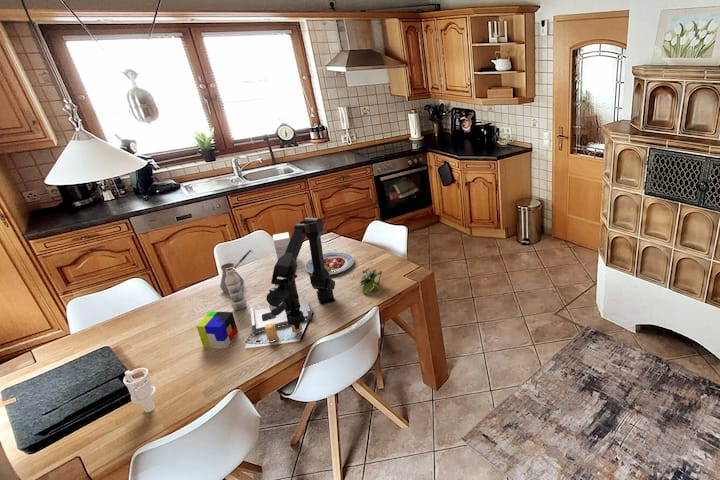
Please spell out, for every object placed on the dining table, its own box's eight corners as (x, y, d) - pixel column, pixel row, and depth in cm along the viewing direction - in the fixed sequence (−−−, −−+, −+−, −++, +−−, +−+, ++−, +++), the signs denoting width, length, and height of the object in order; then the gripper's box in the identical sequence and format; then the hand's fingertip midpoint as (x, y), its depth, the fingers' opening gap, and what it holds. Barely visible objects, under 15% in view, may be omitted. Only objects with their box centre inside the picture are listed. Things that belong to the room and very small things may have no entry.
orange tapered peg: (301, 325, 161) (298, 313, 159) (303, 331, 158) (300, 318, 155) (291, 328, 160) (288, 315, 158) (293, 333, 157) (290, 321, 154)
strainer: (149, 398, 134) (134, 363, 128) (166, 401, 132) (151, 366, 126) (132, 415, 128) (116, 379, 122) (150, 418, 126) (134, 382, 120)
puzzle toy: (226, 348, 155) (220, 327, 151) (203, 347, 157) (196, 326, 153) (238, 332, 164) (232, 312, 160) (216, 331, 166) (210, 311, 162)
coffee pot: (230, 297, 192) (223, 269, 186) (216, 291, 198) (209, 264, 192) (264, 277, 207) (258, 251, 201) (250, 272, 213) (244, 247, 207)
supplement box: (277, 258, 226) (272, 234, 220) (293, 255, 228) (288, 231, 222) (278, 265, 218) (273, 240, 212) (294, 262, 219) (289, 237, 213)
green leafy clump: (368, 295, 190) (371, 270, 192) (386, 297, 183) (389, 271, 185) (353, 292, 182) (356, 266, 184) (371, 294, 175) (375, 267, 177)
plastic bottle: (250, 305, 183) (240, 266, 175) (240, 313, 177) (230, 273, 169) (239, 303, 185) (229, 265, 177) (229, 311, 180) (218, 272, 172)
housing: (306, 302, 180) (304, 294, 178) (311, 318, 167) (310, 310, 166) (252, 315, 174) (250, 308, 173) (254, 333, 162) (251, 325, 160)
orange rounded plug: (277, 334, 159) (274, 322, 157) (278, 340, 156) (275, 328, 153) (267, 337, 159) (264, 325, 156) (268, 343, 155) (265, 330, 153)
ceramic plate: (312, 256, 224) (311, 251, 223) (357, 254, 220) (356, 249, 219) (300, 279, 201) (299, 274, 200) (350, 277, 197) (349, 272, 196)
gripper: (266, 286, 158) (273, 319, 165) (270, 310, 142) (278, 345, 148) (294, 279, 161) (300, 312, 167) (301, 302, 144) (308, 337, 151)
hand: (296, 326), depth 158 cm, fingers closed on orange tapered peg, 4 cm apart
